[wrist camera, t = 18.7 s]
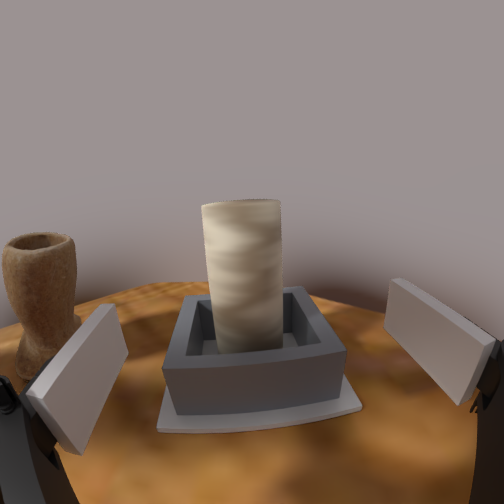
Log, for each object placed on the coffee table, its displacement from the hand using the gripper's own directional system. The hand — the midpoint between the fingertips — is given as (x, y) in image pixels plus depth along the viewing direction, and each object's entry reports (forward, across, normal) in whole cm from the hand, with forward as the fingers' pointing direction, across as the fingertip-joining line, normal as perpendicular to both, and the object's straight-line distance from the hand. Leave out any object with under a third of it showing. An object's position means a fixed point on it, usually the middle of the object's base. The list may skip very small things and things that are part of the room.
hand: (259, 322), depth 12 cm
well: (+11, 0, -11) cm, 15 cm away
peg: (+11, 0, -10) cm, 15 cm away
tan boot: (+14, -24, -12) cm, 30 cm away
